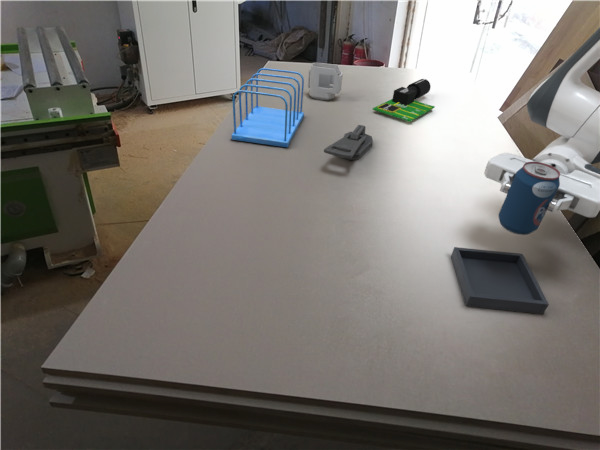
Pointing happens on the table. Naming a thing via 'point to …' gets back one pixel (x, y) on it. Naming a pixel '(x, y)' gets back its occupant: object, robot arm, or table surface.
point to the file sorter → (268, 114)
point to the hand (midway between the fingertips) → (527, 198)
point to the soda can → (529, 197)
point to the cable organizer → (324, 81)
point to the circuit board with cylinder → (407, 101)
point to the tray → (497, 281)
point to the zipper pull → (351, 144)
